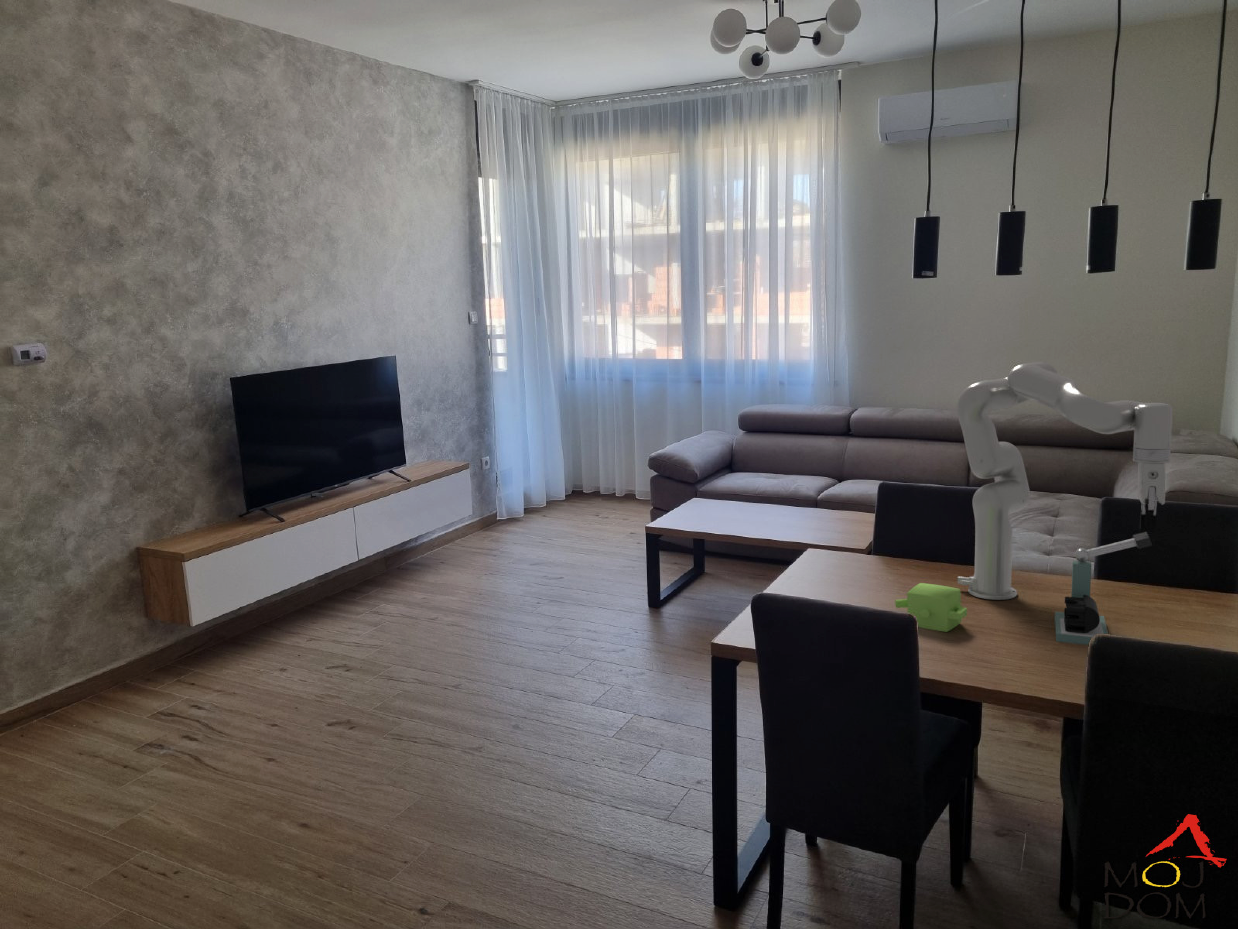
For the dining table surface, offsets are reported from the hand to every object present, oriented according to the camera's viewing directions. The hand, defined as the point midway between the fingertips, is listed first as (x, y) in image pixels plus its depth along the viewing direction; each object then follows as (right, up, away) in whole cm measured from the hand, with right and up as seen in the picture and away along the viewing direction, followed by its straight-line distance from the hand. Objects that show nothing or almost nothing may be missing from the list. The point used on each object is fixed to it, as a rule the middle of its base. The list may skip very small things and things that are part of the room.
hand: (1147, 530), depth 211 cm
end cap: (-15, -24, +2) cm, 28 cm away
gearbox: (-48, -26, +14) cm, 56 cm away
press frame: (-14, -25, +4) cm, 29 cm away
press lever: (-6, -6, +4) cm, 9 cm away
